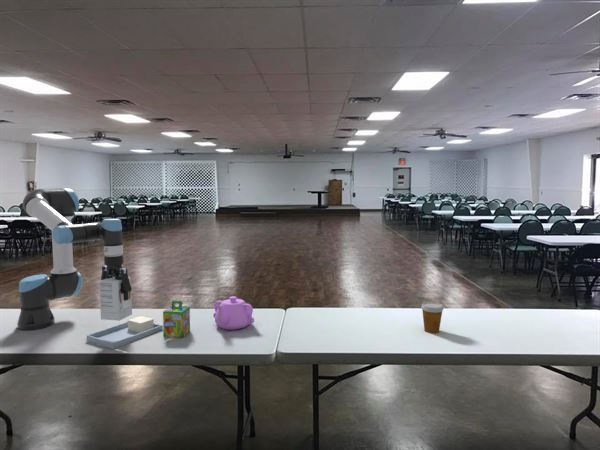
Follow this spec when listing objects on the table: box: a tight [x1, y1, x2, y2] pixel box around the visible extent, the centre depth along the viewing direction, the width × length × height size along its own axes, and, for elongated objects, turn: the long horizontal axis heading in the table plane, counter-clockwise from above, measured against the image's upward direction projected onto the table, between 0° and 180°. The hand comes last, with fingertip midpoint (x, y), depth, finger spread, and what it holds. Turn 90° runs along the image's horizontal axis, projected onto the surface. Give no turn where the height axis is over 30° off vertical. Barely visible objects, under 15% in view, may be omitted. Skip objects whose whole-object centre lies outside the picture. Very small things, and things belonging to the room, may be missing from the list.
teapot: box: [213, 296, 255, 331], centre depth 197 cm, size 22×22×14 cm
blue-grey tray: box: [86, 321, 163, 350], centre depth 187 cm, size 18×25×3 cm
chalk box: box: [162, 300, 191, 339], centre depth 189 cm, size 9×9×15 cm
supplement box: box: [98, 276, 133, 321], centre depth 182 cm, size 10×9×17 cm
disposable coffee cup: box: [420, 301, 444, 334], centre depth 190 cm, size 10×10×12 cm
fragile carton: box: [127, 315, 155, 333], centre depth 194 cm, size 9×7×4 cm
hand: (116, 305), depth 183 cm, fingers closed on supplement box, 11 cm apart
